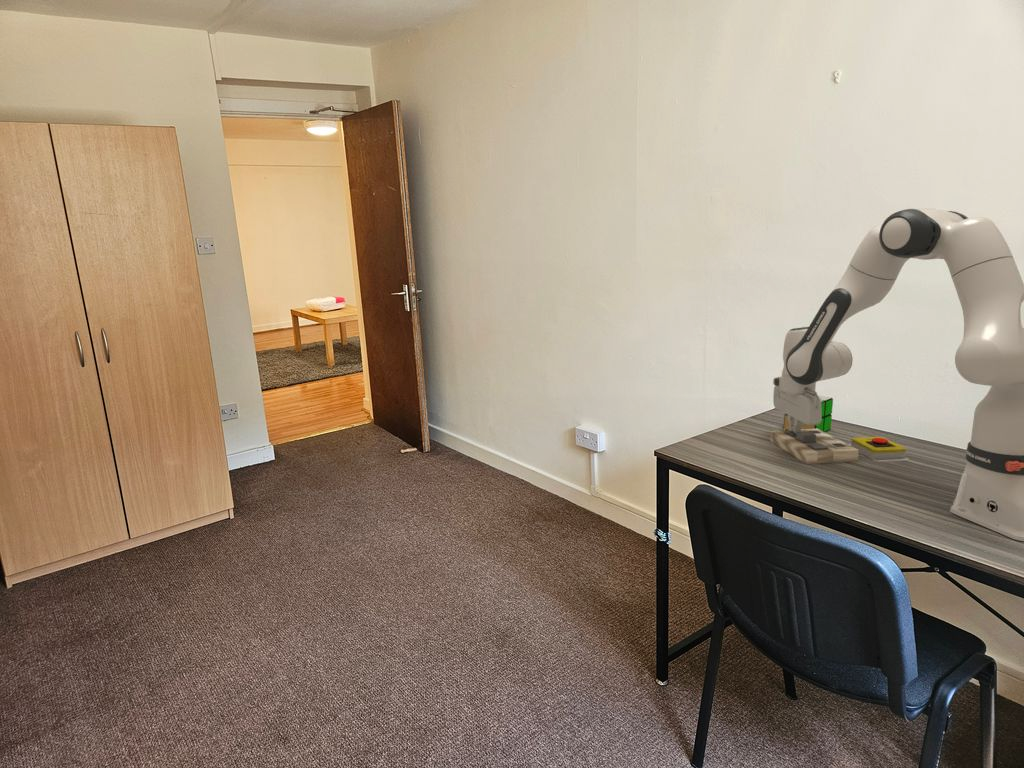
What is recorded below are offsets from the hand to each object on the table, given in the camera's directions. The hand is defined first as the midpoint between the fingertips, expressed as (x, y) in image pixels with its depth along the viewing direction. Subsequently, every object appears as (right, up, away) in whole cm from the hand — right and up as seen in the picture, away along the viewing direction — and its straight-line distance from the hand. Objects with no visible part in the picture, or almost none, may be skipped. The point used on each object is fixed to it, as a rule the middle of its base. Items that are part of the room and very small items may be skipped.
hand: (795, 432), depth 188 cm
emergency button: (+19, -6, -7) cm, 21 cm away
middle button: (+1, -3, -5) cm, 6 cm away
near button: (+1, -6, -11) cm, 12 cm away
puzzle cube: (+10, -1, +15) cm, 18 cm away
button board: (+3, -5, -5) cm, 7 cm away
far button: (0, -3, +1) cm, 3 cm away
